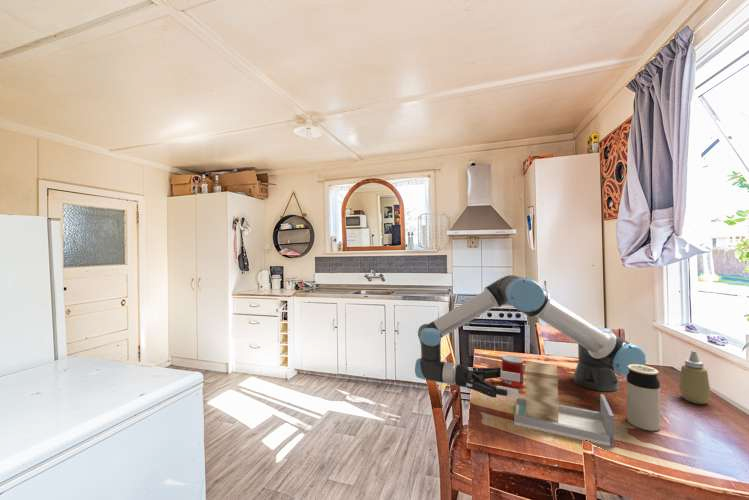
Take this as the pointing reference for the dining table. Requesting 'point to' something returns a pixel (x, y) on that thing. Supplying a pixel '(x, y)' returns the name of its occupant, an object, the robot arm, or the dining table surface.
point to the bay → (573, 422)
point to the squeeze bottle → (694, 381)
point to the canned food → (513, 370)
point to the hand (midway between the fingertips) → (519, 385)
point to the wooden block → (541, 391)
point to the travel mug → (643, 397)
